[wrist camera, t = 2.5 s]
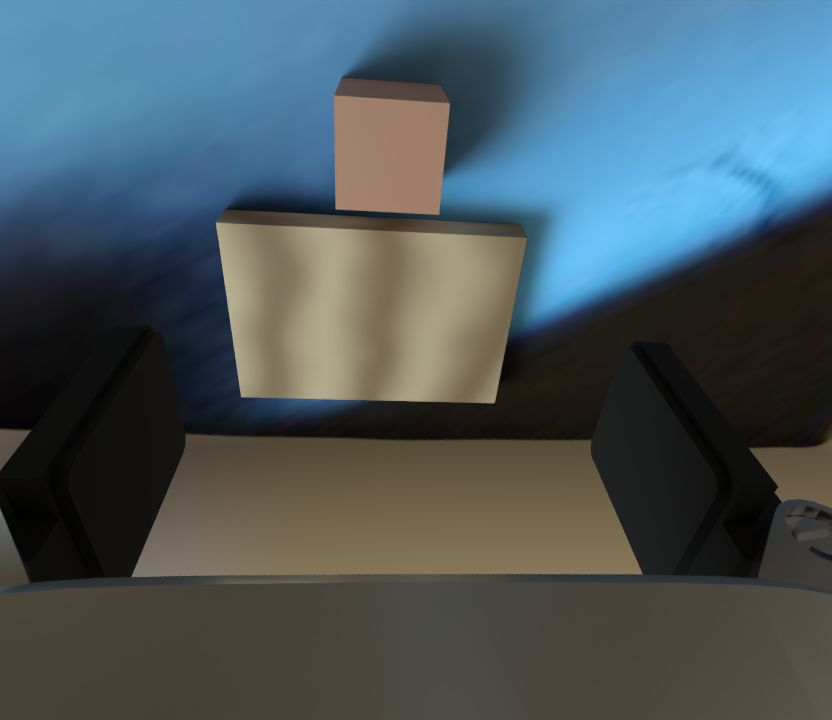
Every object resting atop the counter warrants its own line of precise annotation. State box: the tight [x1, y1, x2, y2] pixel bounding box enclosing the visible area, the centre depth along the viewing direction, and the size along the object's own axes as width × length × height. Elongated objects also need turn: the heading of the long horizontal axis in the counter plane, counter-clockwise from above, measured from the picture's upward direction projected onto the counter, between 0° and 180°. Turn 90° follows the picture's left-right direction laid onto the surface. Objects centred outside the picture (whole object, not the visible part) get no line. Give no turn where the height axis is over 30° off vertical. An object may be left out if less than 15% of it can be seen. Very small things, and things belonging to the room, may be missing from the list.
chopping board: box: [216, 210, 527, 403], centre depth 34 cm, size 17×12×2 cm
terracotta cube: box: [334, 78, 450, 215], centre depth 27 cm, size 5×5×5 cm
